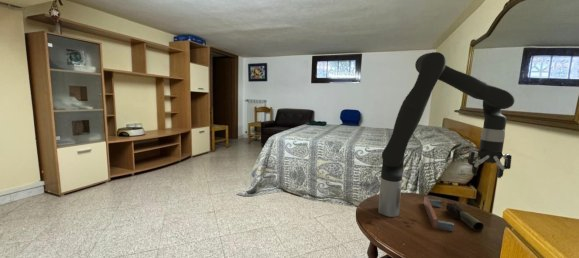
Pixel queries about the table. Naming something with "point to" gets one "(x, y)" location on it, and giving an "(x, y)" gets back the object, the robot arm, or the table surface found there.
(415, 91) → the robot arm
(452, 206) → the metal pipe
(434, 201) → the brown pull handle
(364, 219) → the table surface
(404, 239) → the table surface
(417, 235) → the table surface
